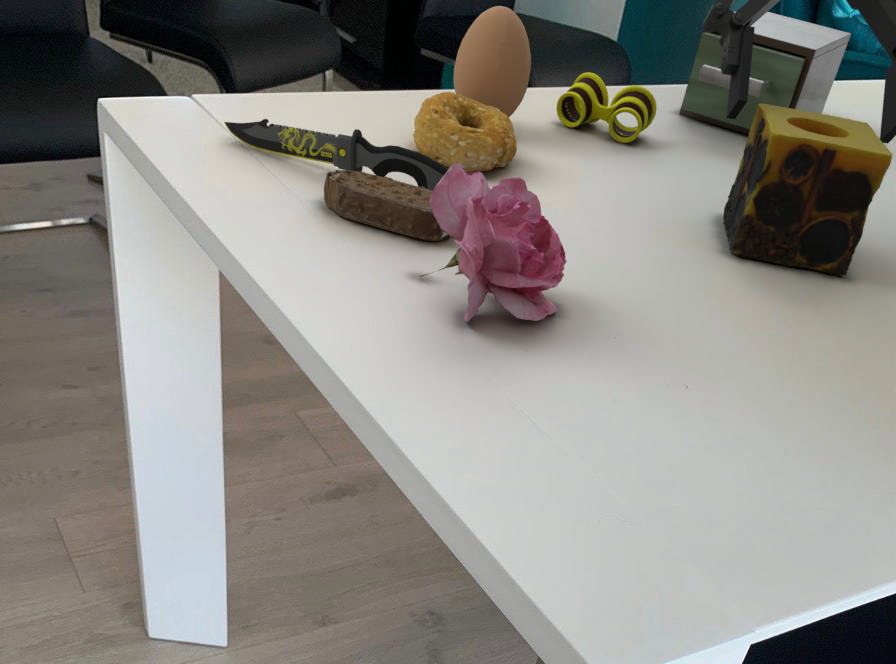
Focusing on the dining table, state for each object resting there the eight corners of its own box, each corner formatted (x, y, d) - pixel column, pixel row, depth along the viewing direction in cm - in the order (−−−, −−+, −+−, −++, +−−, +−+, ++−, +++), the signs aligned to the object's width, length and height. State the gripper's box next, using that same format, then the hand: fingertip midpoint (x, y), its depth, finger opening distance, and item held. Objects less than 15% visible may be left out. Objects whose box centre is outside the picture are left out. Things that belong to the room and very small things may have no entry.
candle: (846, 279, 87) (898, 157, 80) (728, 256, 87) (771, 133, 81) (827, 236, 95) (873, 122, 88) (719, 216, 95) (757, 99, 88)
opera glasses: (550, 130, 111) (557, 83, 107) (570, 111, 114) (577, 64, 110) (633, 155, 108) (644, 107, 104) (651, 135, 111) (662, 88, 107)
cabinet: (782, 145, 117) (816, 49, 110) (678, 113, 121) (705, 20, 114) (818, 121, 127) (851, 33, 121) (722, 93, 132) (749, 6, 125)
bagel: (411, 169, 93) (418, 113, 90) (410, 132, 101) (417, 80, 98) (518, 184, 94) (529, 129, 90) (509, 147, 102) (519, 95, 99)
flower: (559, 345, 77) (621, 274, 68) (439, 365, 74) (487, 292, 65) (514, 210, 79) (568, 122, 69) (394, 223, 76) (435, 133, 66)
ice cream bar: (336, 193, 86) (339, 159, 84) (505, 239, 83) (512, 205, 81) (309, 211, 82) (311, 176, 80) (485, 261, 79) (492, 225, 77)
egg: (518, 121, 109) (540, 5, 102) (519, 142, 103) (542, 21, 96) (448, 109, 109) (465, -8, 102) (445, 130, 103) (463, 7, 96)
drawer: (763, 145, 112) (790, 65, 107) (666, 115, 116) (688, 37, 110) (810, 116, 125) (837, 43, 120) (722, 90, 129) (743, 19, 124)
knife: (222, 167, 93) (217, 107, 90) (232, 164, 94) (228, 104, 91) (453, 213, 85) (456, 149, 82) (460, 209, 86) (465, 145, 83)
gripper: (950, -59, 93) (931, 166, 91) (682, -104, 91) (657, 123, 90) (1003, -124, 85) (983, 120, 84) (712, -175, 84) (685, 72, 82)
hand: (814, 122), depth 87 cm, fingers open, 13 cm apart
